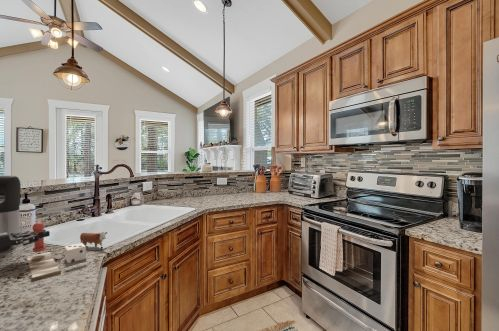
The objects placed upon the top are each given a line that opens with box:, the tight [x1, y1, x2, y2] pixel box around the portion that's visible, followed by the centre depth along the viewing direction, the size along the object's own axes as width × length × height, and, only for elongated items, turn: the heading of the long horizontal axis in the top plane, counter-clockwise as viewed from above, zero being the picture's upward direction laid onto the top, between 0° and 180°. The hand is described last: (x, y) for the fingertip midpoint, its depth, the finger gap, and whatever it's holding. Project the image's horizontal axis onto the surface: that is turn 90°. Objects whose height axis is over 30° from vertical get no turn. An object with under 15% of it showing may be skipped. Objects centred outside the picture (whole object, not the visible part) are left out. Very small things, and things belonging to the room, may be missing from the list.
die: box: [64, 242, 87, 264], centre depth 101 cm, size 6×6×6 cm
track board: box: [26, 251, 62, 282], centre depth 97 cm, size 25×8×1 cm, turn 45°
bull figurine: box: [79, 231, 108, 248], centre depth 114 cm, size 4×13×8 cm, turn 78°
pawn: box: [31, 221, 47, 253], centre depth 104 cm, size 4×4×12 cm
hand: (46, 232), depth 106 cm, fingers closed on pawn, 3 cm apart
